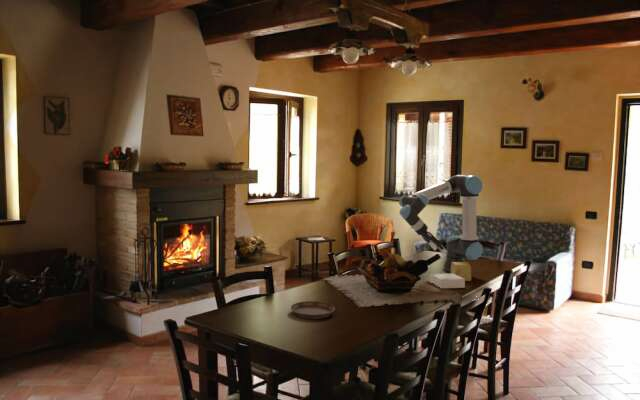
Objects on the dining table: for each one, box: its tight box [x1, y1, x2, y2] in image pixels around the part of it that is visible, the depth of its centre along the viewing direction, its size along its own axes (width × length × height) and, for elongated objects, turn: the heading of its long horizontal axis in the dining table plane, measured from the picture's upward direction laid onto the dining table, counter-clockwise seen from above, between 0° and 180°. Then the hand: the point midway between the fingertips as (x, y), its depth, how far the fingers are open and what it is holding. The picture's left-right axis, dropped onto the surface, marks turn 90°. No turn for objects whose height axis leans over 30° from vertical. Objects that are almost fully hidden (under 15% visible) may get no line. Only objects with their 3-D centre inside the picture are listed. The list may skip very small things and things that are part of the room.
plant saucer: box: [290, 300, 336, 320], centre depth 250 cm, size 21×21×3 cm
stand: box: [429, 273, 466, 289], centre depth 316 cm, size 15×15×5 cm
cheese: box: [450, 261, 472, 282], centre depth 333 cm, size 10×11×10 cm
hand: (440, 250), depth 329 cm, fingers open, 13 cm apart
